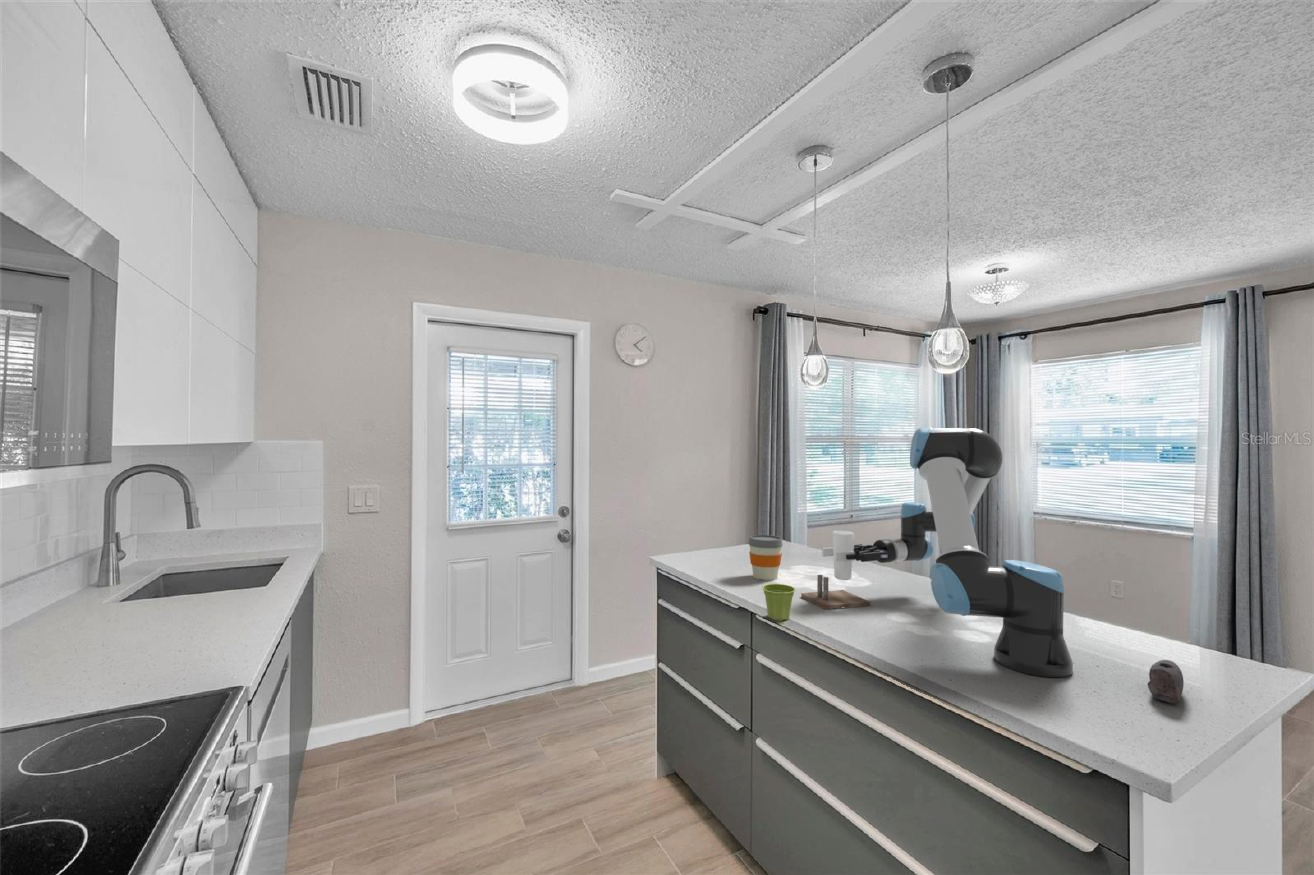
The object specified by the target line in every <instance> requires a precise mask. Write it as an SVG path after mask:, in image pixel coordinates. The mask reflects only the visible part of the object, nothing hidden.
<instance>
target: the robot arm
mask: <svg viewBox="0 0 1314 875" xmlns="http://www.w3.org/2000/svg"><path fill="white" fill-rule="evenodd" d="M912 435H913V436H912V438H911V444H910V450H909V465H910V468H912V469H914V470H917V469H918V472H919V473H918V474H919V476H920V477H921V478H922V479H923V480H926V484H927V489H928V494H929V495H928V496H929V498H930V500H929V501H930V505H931V509H929V508H927V506H926V504H925V503H923V502H922V503H921V502H904V503H903V504H902V503H901V504H902V505H901V508H900V509H901V510H900V531H901V532H900V538H891V539H890V538H888V539H878V540H876V541H874V542H873V544H866V545H863V544H861V543H859V544H854V552H853V551H852V552H837V553H836V561H837V562H838V561H853V562H854V561H858V562H859V561H860V562H862V563H864V562H866V563H867V562H872V561H873V562H874V561H875V562H876V561H877V562H878V563H881V564H885V563H886V564H887V563H895V564H898V563H899V562H910V561H911V562H912V561H913V562H914V561H918V562H919V561H924V560H927V559H928V560H929V558H931V557H932V556H933V553H934V547H933V545H932V542H931V541H930V539H929V538H927V537H926V532H929V533H932V532H933V533H936V536H937V541H938V545H939V546H938V547H939V551H940V554H939V555H938V556H937V558H936V559H935V563H934V564H932V565H931V567H930V572H929V577H930V578H929V579H930V587H931V592H932V595H933V598H934V600H935V602H936V604H937V605H938V606H939V608H940V609H941V610H942V611H943V612H945V613H947V614H953V615H960V616H962V617H964V616H973V617H974V616H975V617H976V616H977V617H991V618H1002V628H1001V629H1000V632H999V635H998V637H997V640H996V642H995V645H994V650H993V657H994V659H995V661H996V662H998V663H999V664H1000V665H1003V666H1005V667H1006V668H1008V669H1011V670H1014V671H1016V672H1017V671H1018V672H1020V673H1024V674H1028V675H1032V676H1038V677H1045V678H1065V677H1069V676H1071V675H1072V674H1073V673H1074V667H1073V664H1074V662H1073V660H1072V657H1071V654H1070V651H1069V649H1068V646H1067V643H1066V640H1065V637H1064V609H1065V608H1064V606H1065V605H1064V603H1065V602H1064V599H1065V598H1064V597H1065V595H1064V594H1066V593H1065V589H1064V579H1063V575H1062V574H1061V573H1060V572H1059V571H1058V570H1055V569H1053V568H1050V567H1047V566H1044V565H1040V564H1036V563H1032V562H1027V561H1022V560H1016V559H1005V560H1003V562H1002V564H1001V565H1002V566H995V565H994V566H993V565H992V566H991V565H990V560H989V559H990V558H989V557H988V555H987V554H986V553H984V552H982V551H981V550H980V548H979V544H978V540H977V535H976V532H975V526H976V517H975V514H974V511H975V509H976V507H977V505H978V503H979V501H980V499H981V497H982V495H983V493H984V492H985V489H986V487H987V486H988V484H989V482H990V480H991V479H993V478H995V476H997V475H998V473H999V471H1000V469H1001V468H1002V464H1003V453H1002V448H1001V447H1000V444H999V443H998V442H997V440H996V439H995V438H994V436H992V435H991V434H990V433H988V432H987V431H984V430H983V429H979V428H975V427H973V428H972V427H964V428H963V427H953V428H952V427H949V428H948V427H947V428H946V427H932V426H931V427H926V428H925V427H924V428H922V427H920V428H917V429H916V430H915V431H914V433H913V434H912ZM821 554H822V557H823V558H825V557H833V547H822V553H821Z"/></svg>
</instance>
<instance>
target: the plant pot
mask: <svg viewBox="0 0 1314 875" xmlns="http://www.w3.org/2000/svg"><path fill="white" fill-rule="evenodd" d="M761 589H762V590H763V594H764V596H765V597H764V598H765V603H766V611H767V612H766V613H767V617H768V618H770V619H771V620H773V621H780V622H781V621H784V620H786V621H788V620H789V619H790V616H791V608H792V602H793V597H794V594H795V592H796V587H794V586H793V585H788V584H780V583H768V584H764V585H763V586H762V588H761Z"/></svg>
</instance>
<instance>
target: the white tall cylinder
mask: <svg viewBox="0 0 1314 875" xmlns="http://www.w3.org/2000/svg"><path fill="white" fill-rule="evenodd" d="M831 542H832V543H831V544H832V547H833V556H832V558H833V571H834V572H833V574H834V575H833V576H834V578H835V579H837V580H842V581H848V580H849V581H850V580H851V579H852V576H853V573H852V572H853V570H852V569H853V564H854V560H853V561H838V562H837V561H836V553H837V552H852V551H853V552H854V545H855V533H854V532H853V531H848V530H833V531H832V541H831ZM832 547H831V548H832Z"/></svg>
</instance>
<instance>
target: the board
mask: <svg viewBox="0 0 1314 875" xmlns="http://www.w3.org/2000/svg"><path fill="white" fill-rule="evenodd" d="M816 576H817V579H816V580H817V585H816V586H817V588H816V589H817V591H813V592H801V594H800V595H801V598H803V599H804V598H805V600H806V601H809V602H811V603H812V602H813V604H814V603H815V604H814V605H816V606H818V607H820V608H822V607H823V608H822V609H824V608H825V609H824V610H826V609H827V610H834V609H833V608H837V609H843V608H842V607H848V608H858V607H866V606H871V601H870V600H867V599H865V598H863V597H860V596H859V595H855V594H854V593H851V592H850V591H849V592H848V591H847V590H844V589H836V590H835V589H834V590H829V577H827V576H823V575H822V574H817V575H816Z"/></svg>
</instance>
